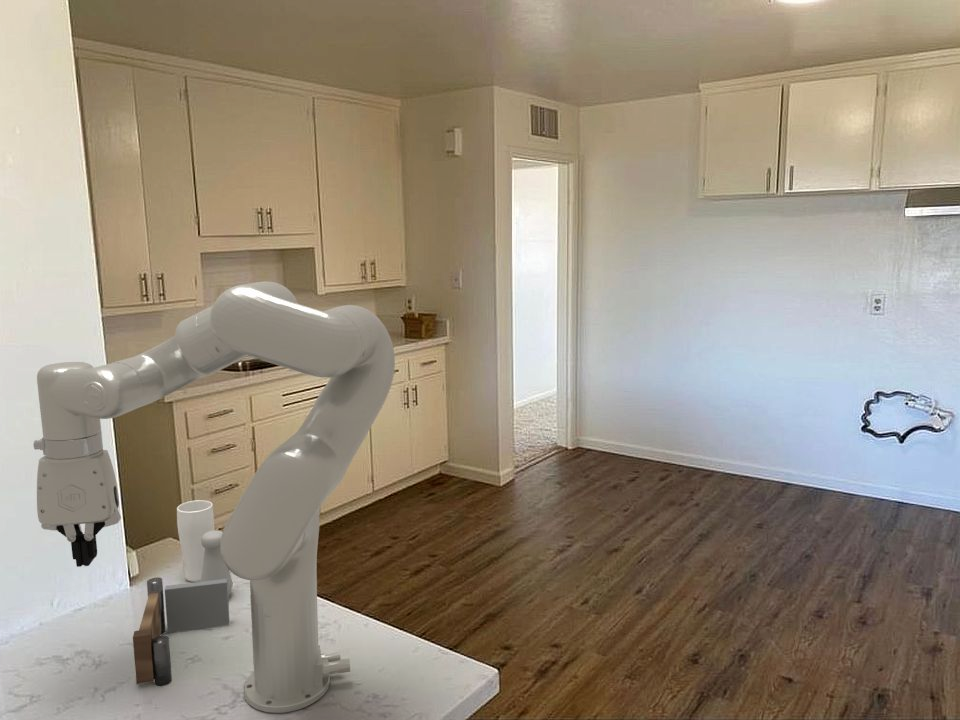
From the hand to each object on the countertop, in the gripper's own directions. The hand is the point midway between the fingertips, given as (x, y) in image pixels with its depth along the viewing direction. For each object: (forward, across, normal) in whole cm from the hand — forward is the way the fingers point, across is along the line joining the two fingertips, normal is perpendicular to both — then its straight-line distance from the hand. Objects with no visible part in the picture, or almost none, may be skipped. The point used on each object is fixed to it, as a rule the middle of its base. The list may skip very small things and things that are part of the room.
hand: (85, 562), depth 110 cm
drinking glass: (+19, +10, +31) cm, 38 cm away
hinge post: (+18, +7, +11) cm, 22 cm away
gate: (+18, +8, +2) cm, 19 cm away
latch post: (+19, +11, -4) cm, 22 cm away
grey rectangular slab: (+18, +13, +11) cm, 25 cm away
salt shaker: (+19, +15, +22) cm, 32 cm away
